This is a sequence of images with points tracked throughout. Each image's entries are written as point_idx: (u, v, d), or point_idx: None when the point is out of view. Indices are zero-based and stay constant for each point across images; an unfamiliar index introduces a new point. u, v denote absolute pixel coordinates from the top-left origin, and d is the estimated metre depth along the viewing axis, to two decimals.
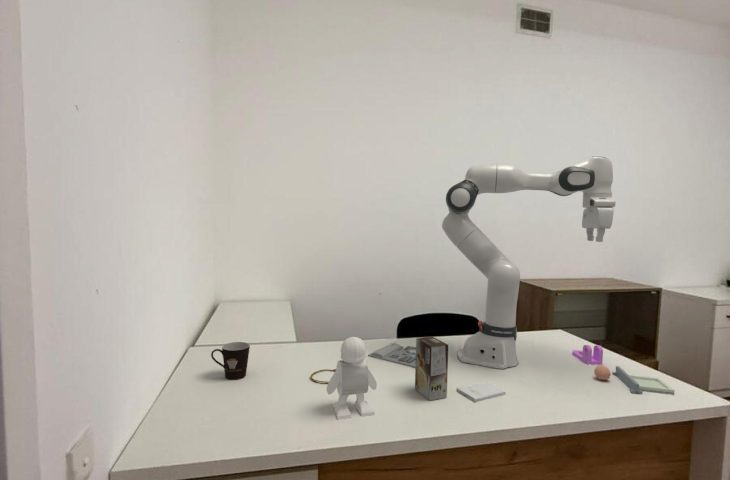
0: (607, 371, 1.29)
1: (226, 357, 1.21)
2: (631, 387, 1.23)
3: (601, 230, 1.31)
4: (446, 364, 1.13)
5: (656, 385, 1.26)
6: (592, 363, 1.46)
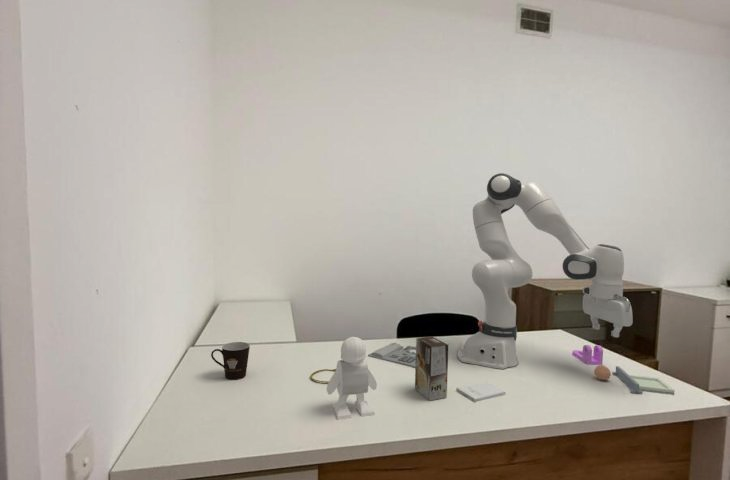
0: (607, 371, 1.29)
1: (226, 357, 1.21)
2: (631, 387, 1.23)
3: None
4: (446, 364, 1.13)
5: (656, 385, 1.26)
6: (592, 363, 1.46)
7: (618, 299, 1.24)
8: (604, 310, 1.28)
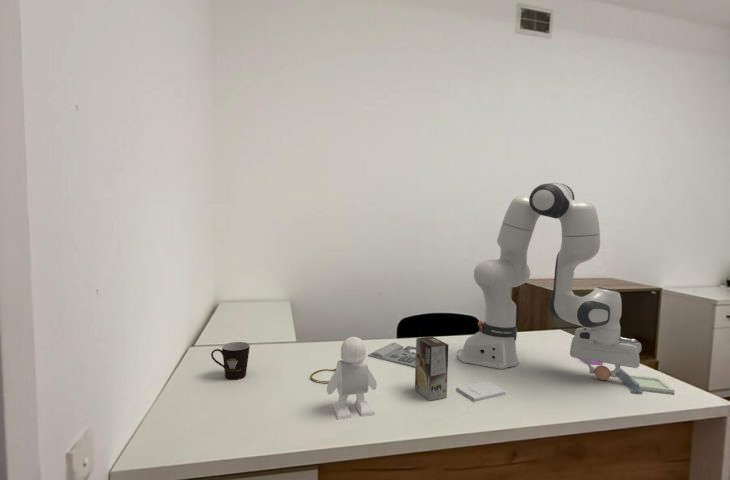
0: (607, 371, 1.29)
1: (226, 357, 1.21)
2: (631, 387, 1.23)
3: (586, 360, 1.33)
4: (446, 364, 1.13)
5: (656, 385, 1.26)
6: (592, 363, 1.45)
7: (625, 341, 1.27)
8: (609, 354, 1.28)
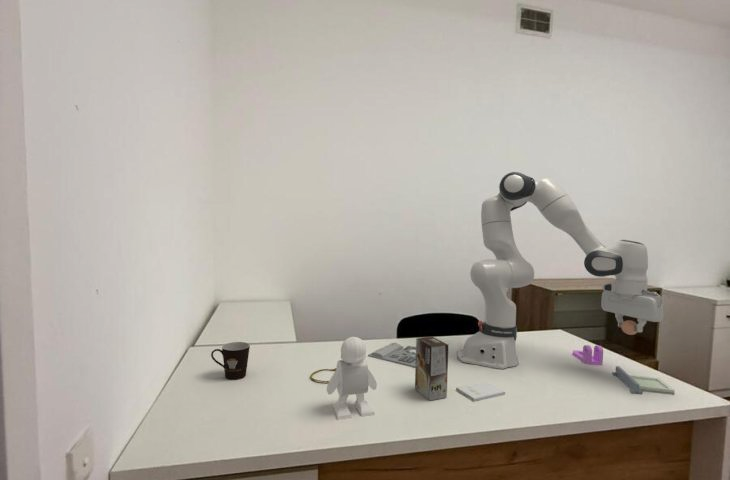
0: (630, 324, 1.27)
1: (226, 357, 1.21)
2: (631, 387, 1.23)
3: None
4: (446, 364, 1.13)
5: (656, 385, 1.26)
6: (592, 363, 1.45)
7: (647, 294, 1.22)
8: (630, 306, 1.26)
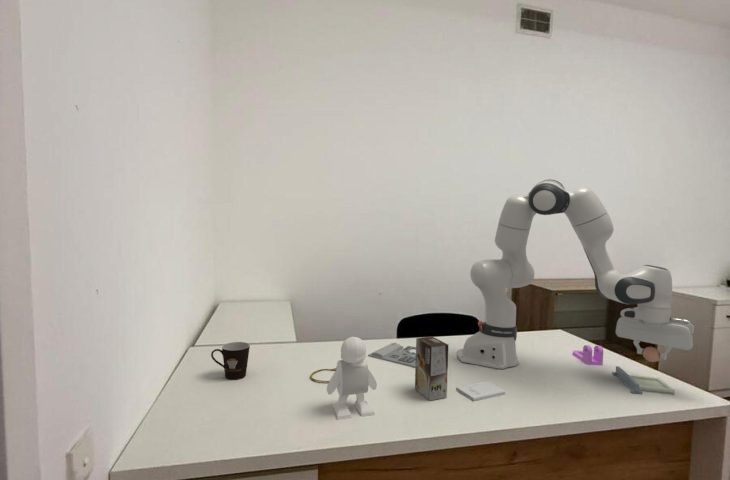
0: (655, 352, 1.24)
1: (226, 357, 1.21)
2: (631, 387, 1.23)
3: None
4: (446, 364, 1.13)
5: (656, 385, 1.26)
6: (592, 363, 1.45)
7: (676, 322, 1.21)
8: (657, 334, 1.23)
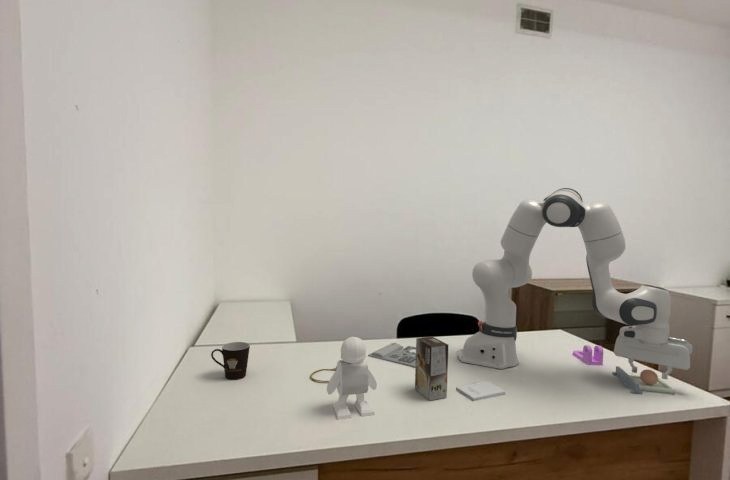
0: (654, 375, 1.25)
1: (226, 357, 1.21)
2: (631, 387, 1.23)
3: None
4: (446, 364, 1.13)
5: (656, 385, 1.26)
6: (592, 363, 1.45)
7: (675, 342, 1.22)
8: (656, 354, 1.24)
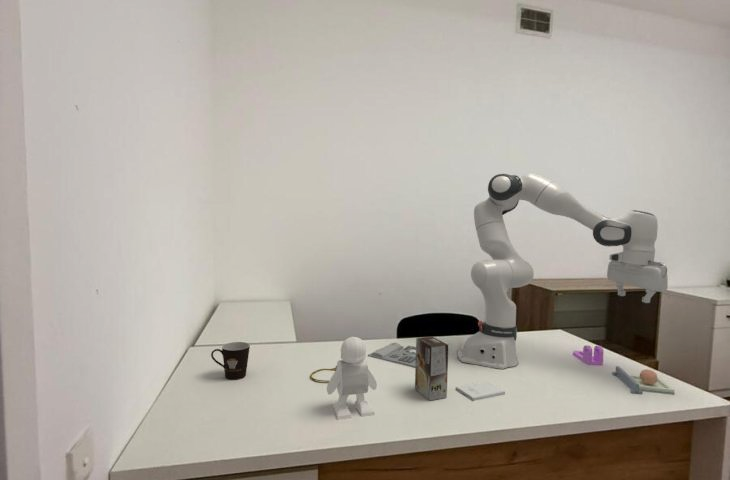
0: (653, 375, 1.25)
1: (226, 357, 1.21)
2: (631, 387, 1.23)
3: None
4: (446, 364, 1.13)
5: (656, 385, 1.26)
6: (592, 364, 1.45)
7: (653, 265, 1.23)
8: (635, 276, 1.28)
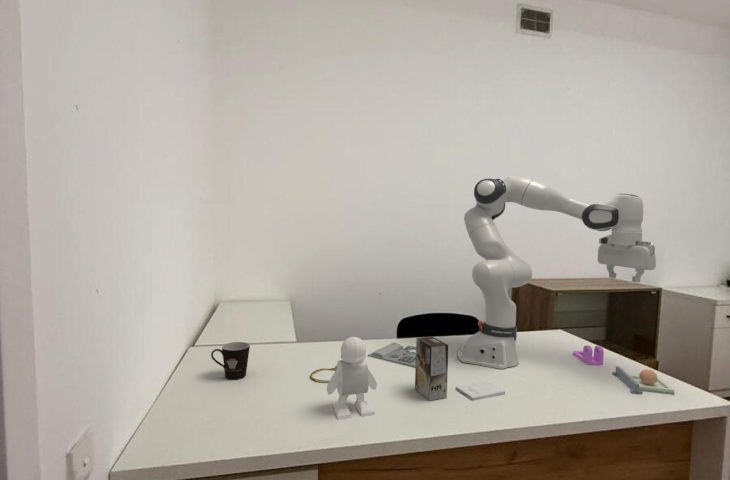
0: (653, 374, 1.25)
1: (226, 357, 1.21)
2: (631, 387, 1.23)
3: None
4: (446, 364, 1.13)
5: (656, 385, 1.26)
6: (592, 364, 1.45)
7: (640, 245, 1.27)
8: (625, 257, 1.31)
